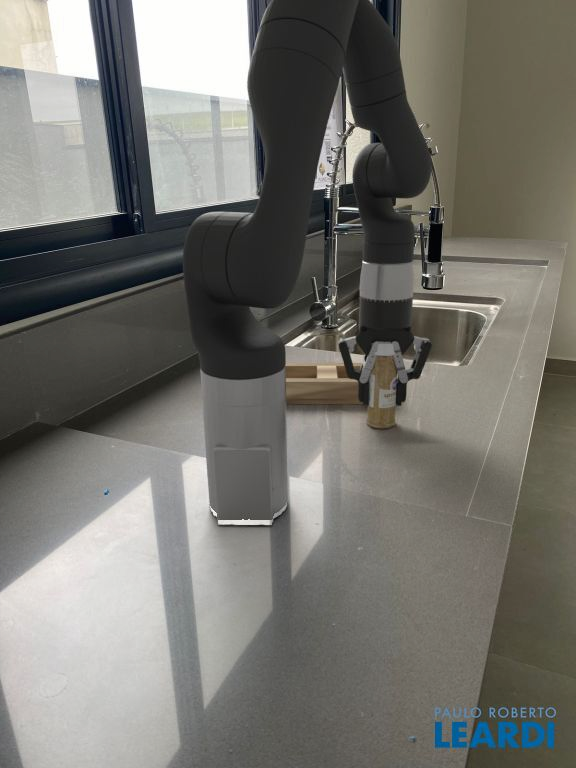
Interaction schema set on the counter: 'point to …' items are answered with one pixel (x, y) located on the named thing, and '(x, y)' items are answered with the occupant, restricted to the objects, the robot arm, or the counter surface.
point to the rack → (320, 384)
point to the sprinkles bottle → (382, 388)
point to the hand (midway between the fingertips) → (381, 403)
